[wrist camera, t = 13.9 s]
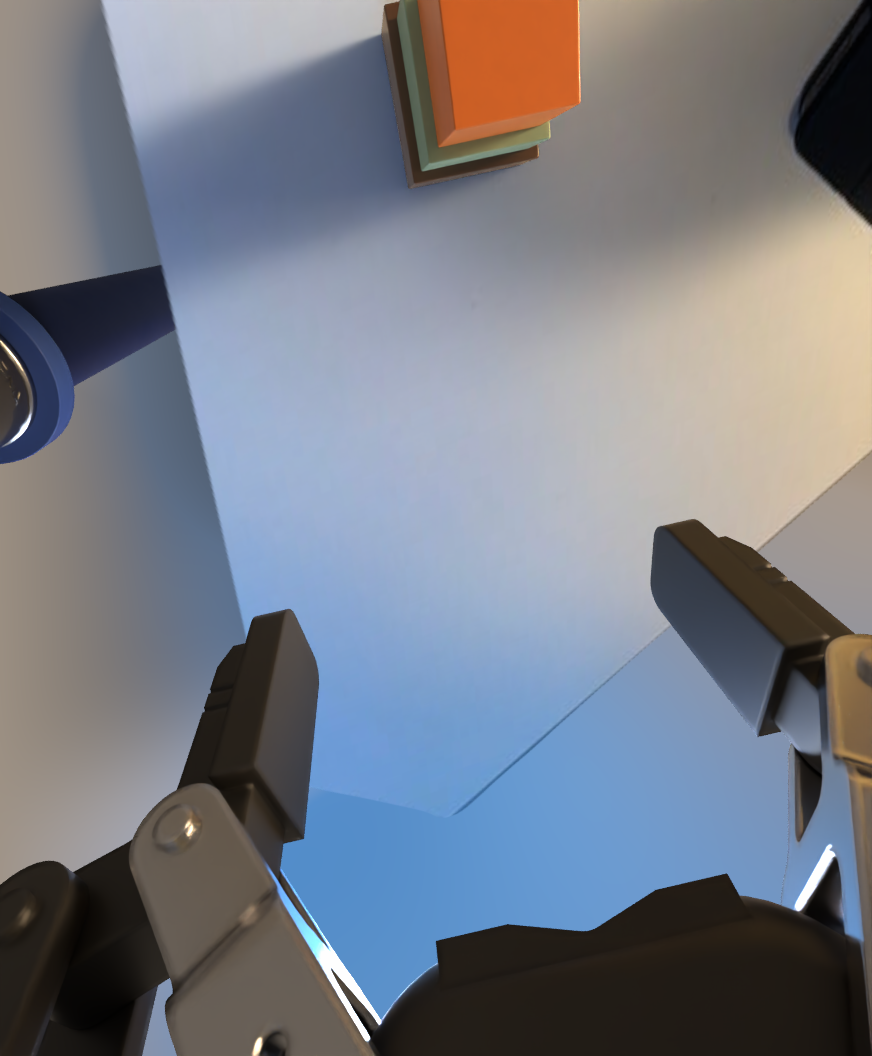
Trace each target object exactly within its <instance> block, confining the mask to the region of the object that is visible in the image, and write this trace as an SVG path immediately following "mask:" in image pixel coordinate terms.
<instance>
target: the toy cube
mask: <svg viewBox="0 0 872 1056" xmlns="http://www.w3.org/2000/svg"><path fill="white" fill-rule="evenodd" d="M417 3H418V10H419V17H420V24H421V31H422V38H423V45H424V52H425V59H426V66H427V73H428V80H429V87H430V94H431V101H432V108H433V115H434V122H435V129H436V136H437V143H438V147H444V146H449V145H454V144H458V143H463V142H467V141H472V140H476V139H481V138H485V137H490V136H495V135H499V134H504V133H508V132H513V131H517V130H522V129H527V128H531V127H536V126H540V125H542V124H544V123H546V122H547V121H549V120H551V119H553V118H555V117H556V116H558V115H560V114H562V113H564V112H565V111H567V110H569V109H571V108H573V107H574V106H576V105H578V104H579V103H580V45H579V0H417Z"/></svg>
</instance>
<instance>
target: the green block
mask: <svg viewBox="0 0 872 1056" xmlns="http://www.w3.org/2000/svg"><path fill="white" fill-rule="evenodd" d="M397 22H398V28H399V35H400V41H401V47H402V53H403V60H404V66H405V72H406V78H407V85H408V91H409V97H410V103H411V110H412V116H413V122H414V128H415V135H416V141H417V147H418V153H419V160H420V166H421V170H422V171H427V170H431V169H436V168H441V167H445V166H450V165H454V164H459V163H464V162H468V161H473V160H477V159H482V158H487V157H491V156H496V155H500V154H505V153H510V152H514V151H519V150H524V149H528V148H531V147H533V146H535V145H537V144H539V143H542V142H544V141H546V140H548V139H550V120H549V121H547V122H546V123H544V124H542V125H540V126H536V127H531V128H527V129H522V130H517V131H513V132H508V133H504V134H499V135H495V136H490V137H485V138H481V139H476V140H472V141H467V142H463V143H458V144H454V145H449V146H444V147H438V143H437V136H436V129H435V122H434V115H433V108H432V101H431V94H430V87H429V80H428V73H427V66H426V59H425V52H424V45H423V38H422V31H421V24H420V17H419V10H418V3H417V0H400V2H399V9H398V15H397Z"/></svg>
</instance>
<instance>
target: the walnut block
mask: <svg viewBox="0 0 872 1056" xmlns="http://www.w3.org/2000/svg"><path fill="white" fill-rule="evenodd" d="M399 2H400V1H399ZM399 2H395V3H390V4H385V5H384V13H383V23H382V33H381V35H382V41H383V46H384V52H385V58H386V64H387V69H388V75H389V81H390V86H391V92H392V98H393V104H394V109H395V115H396V121H397V126H398V132H399V138H400V144H401V149H402V155H403V161H404V166H405V172H406V178H407V184H408V188H409V189H412V188H417V187H421V186H426V185H430V184H435V183H440V182H444V181H449V180H453V179H458V178H462V177H467V176H472V175H476V174H481V173H485V172H490V171H495V170H499V169H504V168H508V167H513V166H518V165H521V164H523V163H526V162H529V161H531V160H534V159H537V158H538V157H539V151H538V144H537V145H535V146H533V147H531V148H528V149H524V150H519V151H514V152H510V153H505V154H500V155H496V156H491V157H487V158H482V159H477V160H473V161H468V162H464V163H459V164H454V165H450V166H445V167H441V168H436V169H431V170H427V171H422V170H421V166H420V160H419V153H418V147H417V141H416V135H415V128H414V122H413V116H412V110H411V103H410V97H409V91H408V85H407V78H406V72H405V66H404V60H403V53H402V47H401V41H400V35H399V28H398V22H397V15H398V9H399Z"/></svg>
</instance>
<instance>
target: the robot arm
mask: <svg viewBox="0 0 872 1056" xmlns="http://www.w3.org/2000/svg"><path fill="white" fill-rule="evenodd" d="M36 411H37V393H36V388H35V384H34V381H33V378H32V376H31V374H30V371H29V369H28V367H27V366H26V364H25V362H24V361H23V359H22V358H21V356H20V355H19V353H18V352H17V351H16V350H15V348H14V347H13V346H12V345H11V344H10V343H9V342H8V341H7V340H6V339H5V338H4V337H3V336H2V335H1V334H0V448H1V447H4V446H6V445H8V444H10V443H12V442H13V441H15V440H17V439H18V438H20V437H21V436H22V435H23V434H25V433H26V432H27V430H28V429H29V428H30V427H31V425H32V423H33V421H34V418H35V416H36ZM651 590H652V594H653V597H654V600H655V602H656V604H657V606H658V608H659V609H660V611H661V612H662V613H663V615H664V616H665V617H666V618H667V620H668V621H669V622H670V624H671V625H672V626H673V628H674V629H675V630H676V631H677V633H678V634H679V635H680V637H681V638H682V639H683V641H684V642H685V643H686V644H687V646H688V647H689V648H690V650H691V651H692V652H693V653H694V655H695V656H696V657H697V659H698V660H699V661H700V663H701V664H702V665H703V667H704V668H705V669H706V670H707V672H708V673H709V674H710V676H711V677H712V678H713V680H714V681H715V682H716V683H717V685H718V686H719V687H720V689H721V690H722V691H723V692H724V694H725V695H726V696H727V698H728V699H729V700H730V701H731V703H732V704H733V705H734V707H735V708H736V709H737V711H738V712H739V713H740V715H741V716H742V717H743V719H744V720H745V721H746V722H747V724H748V725H749V726H750V728H751V729H752V730H753V731H754V733H755V734H756V735H757V737H759V736H764V735H768V734H772V733H777V732H781V731H782V732H783V733H784V735H785V736H786V737H787V738H788V739H789V740H790V742H791V745H790V748H789V753H788V857H787V865H786V870H785V875H784V880H783V887H782V896H781V905H779V904H775V903H773V902H769V901H766V900H762V899H757V898H752V897H747V896H739V894H738V892H737V890H736V889H735V887H734V885H733V883H732V881H731V880H730V878H729V876H728V874H722V875H718V876H714V877H710V878H706V879H701V880H697V881H692V882H688V883H684V884H680V885H675V886H671V887H667V888H662V889H658V890H655V891H654V892H652V893H650V894H649V895H647V896H646V897H644V898H642V899H641V900H639V901H638V902H636V903H635V904H633V905H632V906H630V907H628V908H627V909H625V910H624V911H622V912H621V913H619V914H618V915H616V916H614V917H613V918H611V919H610V920H608V921H606V922H605V923H603V924H602V925H601V926H599V927H597V928H595V929H593V930H590V931H572V930H562V929H551V928H540V927H530V926H520V925H509V924H507V925H503V926H498V927H494V928H490V929H486V930H482V931H477V932H473V933H468V934H464V935H460V936H455V937H451V938H447V939H442V940H439V941H436V947H437V957H438V963H437V964H436V965H434V966H433V967H431V968H429V969H428V970H426V971H425V972H424V973H423V974H422V975H421V976H419V977H418V978H417V979H416V980H415V981H414V982H413V983H411V984H410V985H409V986H408V987H407V988H406V990H405V991H404V992H403V993H402V994H401V995H400V996H399V997H398V998H397V999H396V1001H395V1002H394V1004H393V1005H392V1006H391V1008H390V1009H389V1010H388V1012H387V1013H386V1014H385V1016H384V1017H383V1019H382V1020H381V1021H380V1019H379V1018H378V1016H377V1015H376V1013H375V1011H374V1010H373V1008H372V1007H371V1005H370V1004H369V1002H368V1001H367V1000H366V998H365V996H364V995H363V993H362V992H361V990H360V989H359V987H358V986H357V984H356V983H355V981H354V980H353V979H352V977H351V976H350V974H349V973H348V972H347V970H346V969H345V967H344V966H343V965H342V963H341V962H340V960H339V959H338V957H337V956H336V954H335V953H334V951H333V949H332V948H331V947H330V945H329V943H328V942H327V940H326V939H325V937H324V935H323V934H322V932H321V931H320V929H319V928H318V926H317V924H316V923H315V921H314V920H313V918H312V916H311V915H310V914H309V912H308V910H307V909H306V907H305V905H304V904H303V902H302V901H301V899H300V898H299V896H298V894H297V893H296V891H295V890H294V888H293V887H292V885H291V883H290V882H289V880H288V879H287V877H286V876H285V874H284V873H283V871H282V870H281V868H280V866H281V858H282V850H283V844H284V843H288V842H292V841H297V840H301V839H304V833H305V823H306V812H307V802H308V792H309V781H310V771H311V761H312V750H313V740H314V730H315V719H316V709H317V699H318V689H319V675H318V668H317V663H316V660H315V657H314V655H313V652H312V650H311V648H310V646H309V644H308V642H307V640H306V637H305V635H304V633H303V631H302V629H301V627H300V624H299V622H298V620H297V618H296V616H295V614H294V612H293V611H292V610H291V609H286V610H282V611H277V612H273V613H268V614H264V615H259V616H256V617H254V618H253V619H252V622H251V625H250V628H249V632H248V635H247V639H246V643H245V644H240V645H236V646H233V647H232V649H231V650H230V651H229V653H228V654H227V655H226V657H225V658H224V659H223V661H222V662H221V663H220V665H219V666H218V667H217V670H216V673H215V676H214V679H213V682H212V685H211V688H210V690H211V693H210V694H208V697H207V701H206V704H205V707H204V709H205V712H203V713H202V716H201V719H200V722H199V725H198V728H197V731H196V734H195V737H194V740H193V743H192V746H191V749H190V752H189V755H188V758H187V761H186V764H185V767H184V770H183V774H182V776H181V779H180V783H179V785H178V788H177V790H176V791H174V792H172V793H171V794H169V795H168V796H167V797H165V798H164V799H162V801H160V802H159V803H158V804H157V805H156V806H155V807H154V808H153V809H152V810H151V811H150V812H149V813H148V814H147V816H146V817H145V818H144V819H143V821H142V822H141V824H140V826H139V827H138V829H137V831H136V833H135V835H134V837H133V839H132V840H131V841H129V842H128V843H126V844H124V845H122V846H121V847H119V848H117V849H115V850H113V851H112V852H109V853H108V854H106V855H104V856H102V857H101V858H98V859H97V860H95V861H93V862H91V863H89V864H87V865H86V866H84V867H82V868H80V869H78V870H76V871H75V872H72V871H70V870H69V869H68V868H66V867H65V866H64V865H62V864H61V863H59V862H55V861H43V862H39V863H36V864H33V865H31V866H28V867H26V868H25V869H22V870H20V871H19V872H17V873H16V874H14V875H13V876H11V877H10V878H9V879H7V880H6V881H5V882H3V883H2V884H1V885H0V1056H142V1053H143V1049H144V1044H145V1040H146V1035H147V1031H148V1027H149V1022H150V1018H151V1014H152V1009H153V1005H154V1001H155V996H156V991H157V987H158V985H159V984H161V983H162V982H164V981H165V980H167V979H169V978H170V979H171V982H172V988H173V994H172V995H171V996H170V997H169V998H168V999H167V1001H166V1004H165V1014H166V1021H167V1025H168V1029H169V1032H170V1036H171V1039H172V1042H173V1045H174V1048H175V1051H176V1054H177V1056H872V635H868V634H855V633H853V632H852V631H851V630H850V629H849V628H847V627H846V626H845V625H844V624H843V623H841V622H840V621H839V620H838V619H837V618H835V617H834V616H833V615H832V614H831V613H829V612H828V611H827V610H826V609H824V608H823V607H822V606H821V605H820V604H819V603H817V602H816V601H815V600H814V599H812V598H811V597H810V596H809V595H808V594H807V593H805V592H804V591H803V590H802V589H801V588H799V587H798V586H797V585H796V584H794V583H793V582H792V581H788V580H787V577H786V576H785V575H784V574H783V573H781V572H780V571H779V570H778V569H777V568H775V567H773V568H772V567H771V563H769V562H768V561H767V560H766V559H765V558H763V557H762V556H761V555H760V554H759V553H757V552H756V551H755V550H754V549H753V548H751V547H749V546H747V545H744V544H742V543H740V542H738V541H735V540H733V539H731V538H729V537H726V536H724V537H720V538H718V537H717V536H716V535H714V534H713V533H712V532H711V531H710V530H709V529H708V528H706V527H705V526H704V525H703V524H702V523H701V522H699V521H698V520H696V519H691V520H686V521H682V522H677V523H673V524H668V525H664V526H660V527H658V528H657V529H656V530H655V533H654V542H653V555H652V568H651Z"/></svg>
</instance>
